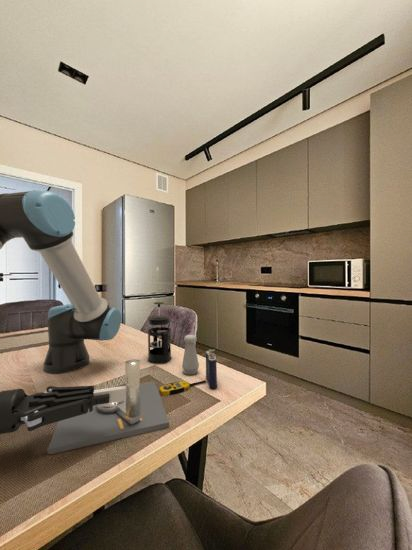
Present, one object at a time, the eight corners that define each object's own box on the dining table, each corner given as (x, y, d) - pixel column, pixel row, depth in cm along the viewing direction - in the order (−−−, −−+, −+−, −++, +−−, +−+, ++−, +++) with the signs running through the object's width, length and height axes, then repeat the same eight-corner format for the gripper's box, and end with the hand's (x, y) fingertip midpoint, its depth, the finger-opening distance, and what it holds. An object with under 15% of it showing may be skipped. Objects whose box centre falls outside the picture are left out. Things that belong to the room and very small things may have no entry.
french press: (143, 357, 101) (142, 301, 100) (165, 353, 106) (164, 300, 105) (154, 367, 91) (153, 305, 90) (177, 361, 96) (176, 303, 96)
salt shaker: (196, 376, 83) (196, 338, 82) (180, 375, 84) (179, 337, 83) (200, 369, 88) (200, 333, 88) (185, 368, 90) (184, 333, 89)
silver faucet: (91, 404, 63) (90, 352, 63) (121, 392, 69) (120, 345, 69) (120, 432, 53) (119, 369, 52) (152, 415, 58) (151, 358, 58)
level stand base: (68, 399, 69) (68, 394, 69) (155, 384, 77) (155, 380, 77) (47, 455, 48) (47, 448, 48) (169, 427, 56) (169, 421, 56)
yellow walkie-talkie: (157, 384, 74) (202, 374, 80) (157, 391, 74) (202, 380, 81) (162, 392, 69) (209, 380, 76) (162, 398, 70) (209, 386, 76)
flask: (205, 376, 82) (205, 345, 82) (213, 376, 83) (213, 344, 83) (209, 390, 73) (209, 354, 73) (219, 389, 74) (219, 354, 73)
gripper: (11, 413, 53) (126, 395, 60) (-23, 456, 41) (126, 427, 48) (10, 379, 53) (125, 365, 60) (-24, 411, 41) (125, 389, 48)
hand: (125, 393), depth 54 cm, fingers closed
